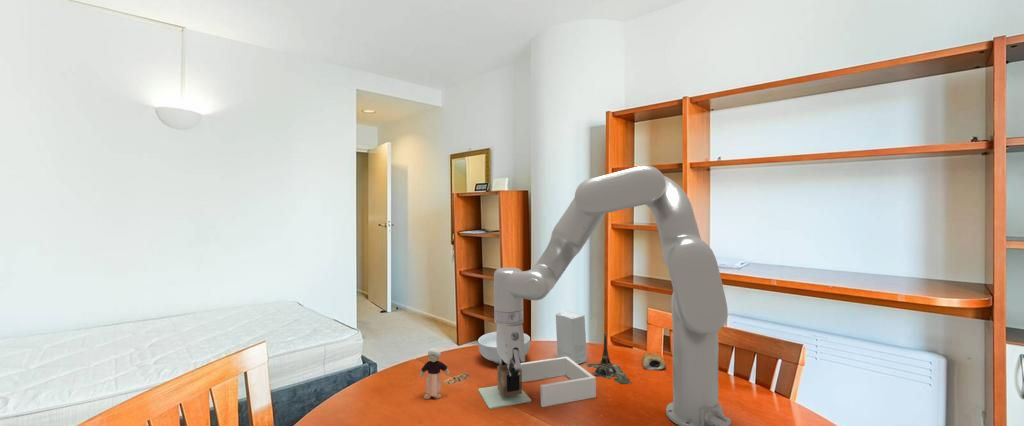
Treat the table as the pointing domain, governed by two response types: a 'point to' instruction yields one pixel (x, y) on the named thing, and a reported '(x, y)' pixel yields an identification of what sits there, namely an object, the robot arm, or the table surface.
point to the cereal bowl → (495, 346)
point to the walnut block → (502, 381)
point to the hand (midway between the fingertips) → (509, 385)
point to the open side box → (563, 391)
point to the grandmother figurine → (433, 374)
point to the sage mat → (501, 398)
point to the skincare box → (571, 336)
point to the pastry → (653, 361)
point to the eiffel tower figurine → (609, 368)
